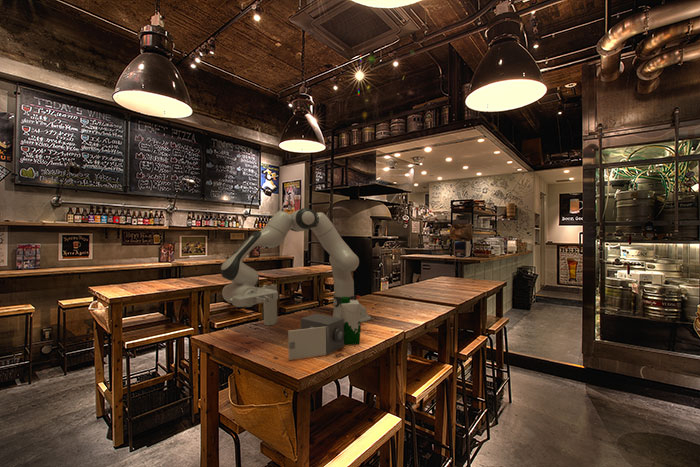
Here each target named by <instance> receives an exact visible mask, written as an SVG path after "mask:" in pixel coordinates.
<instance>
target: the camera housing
mask: <svg viewBox="0 0 700 467" xmlns="http://www.w3.org/2000/svg"><path fill="white" fill-rule="evenodd" d="M326 326H329V354H328V355H330V354H332V353H334V352H336V351H339V350H340V349H342V348H344V347H345V345H344V320H343V319H341V318H336V317H333V316H331V315H327V314H321V313H314V314H311V315H307V316H304V317H301V318H300V329H308V328H316V327H326Z"/></svg>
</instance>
